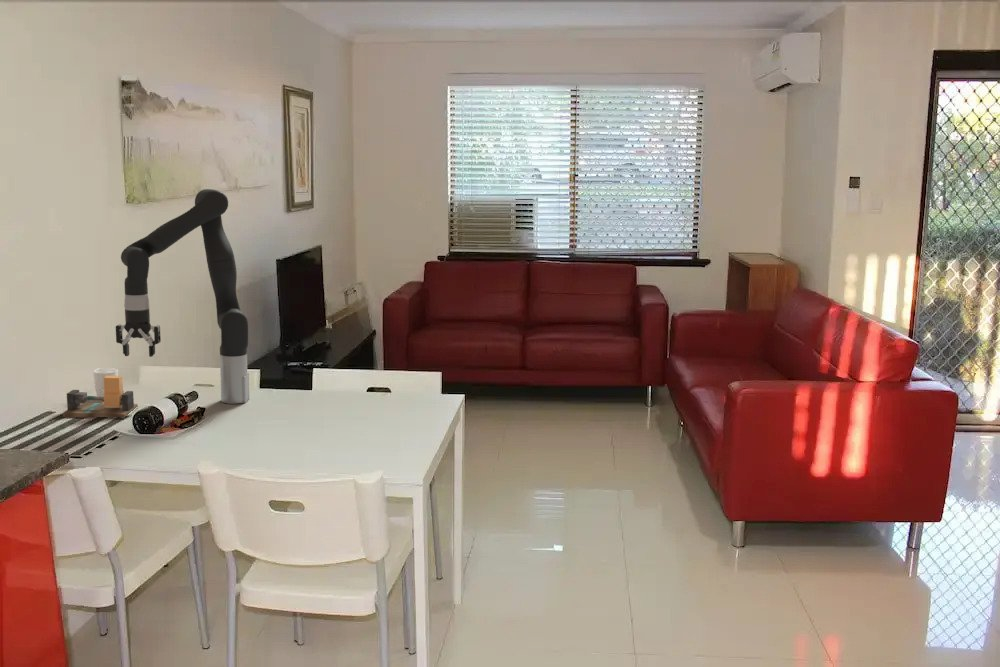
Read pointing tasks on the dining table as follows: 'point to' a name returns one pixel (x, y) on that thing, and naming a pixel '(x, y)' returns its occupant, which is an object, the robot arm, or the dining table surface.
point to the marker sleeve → (113, 391)
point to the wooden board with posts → (97, 405)
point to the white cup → (102, 378)
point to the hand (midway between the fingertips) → (139, 355)
